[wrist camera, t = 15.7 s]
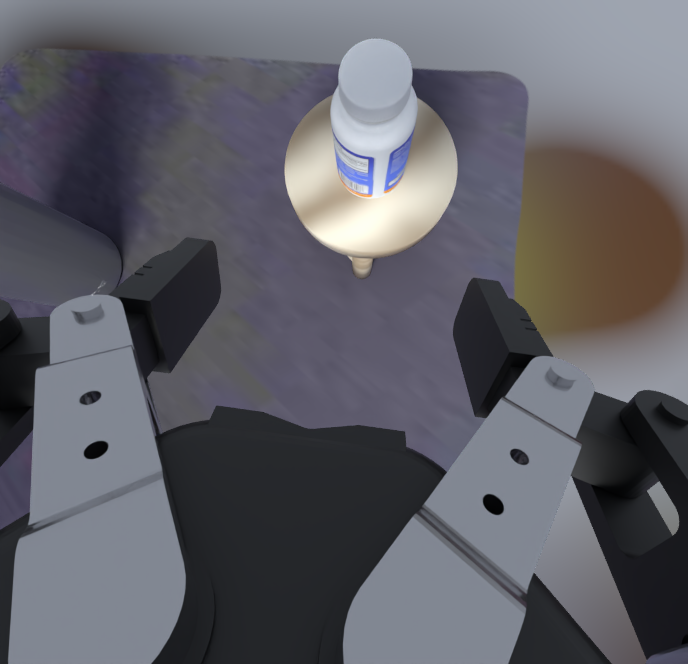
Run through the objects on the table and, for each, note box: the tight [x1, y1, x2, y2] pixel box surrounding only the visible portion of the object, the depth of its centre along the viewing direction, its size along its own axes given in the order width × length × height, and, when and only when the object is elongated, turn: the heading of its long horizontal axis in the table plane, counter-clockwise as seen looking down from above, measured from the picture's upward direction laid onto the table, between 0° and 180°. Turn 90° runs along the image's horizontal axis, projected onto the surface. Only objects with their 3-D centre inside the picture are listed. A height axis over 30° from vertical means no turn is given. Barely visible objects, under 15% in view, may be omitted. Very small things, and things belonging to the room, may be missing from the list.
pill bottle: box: [330, 39, 418, 199], centre depth 23 cm, size 5×5×10 cm
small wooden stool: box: [285, 94, 457, 279], centre depth 33 cm, size 14×14×10 cm
